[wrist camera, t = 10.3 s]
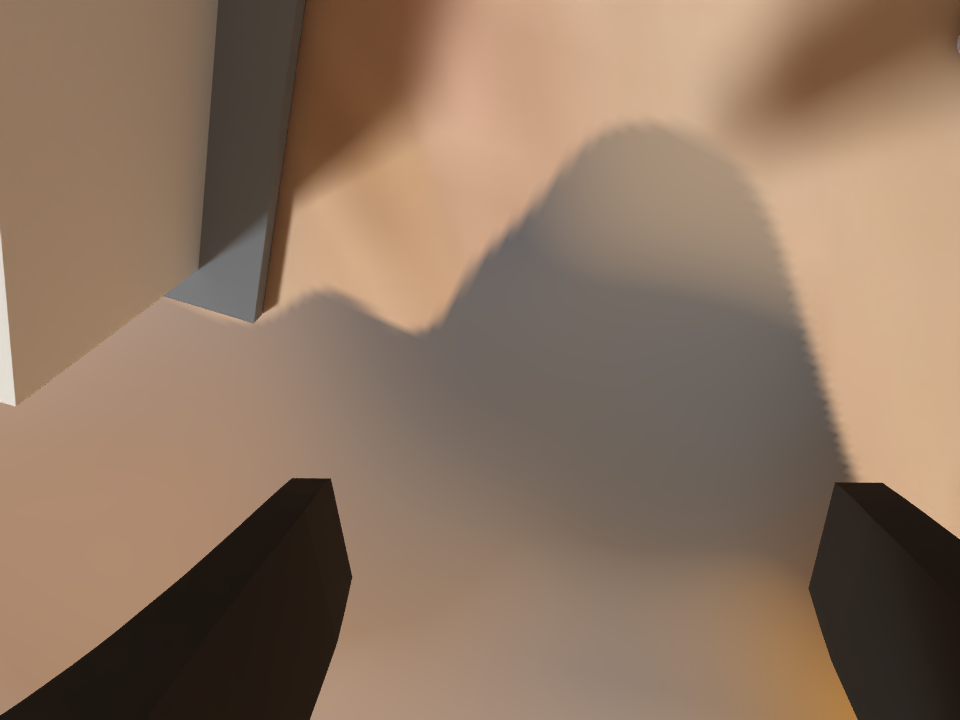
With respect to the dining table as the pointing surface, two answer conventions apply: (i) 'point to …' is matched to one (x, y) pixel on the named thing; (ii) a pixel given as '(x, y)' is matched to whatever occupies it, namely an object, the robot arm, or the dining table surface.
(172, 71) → the block
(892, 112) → the dining table surface
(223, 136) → the mat
